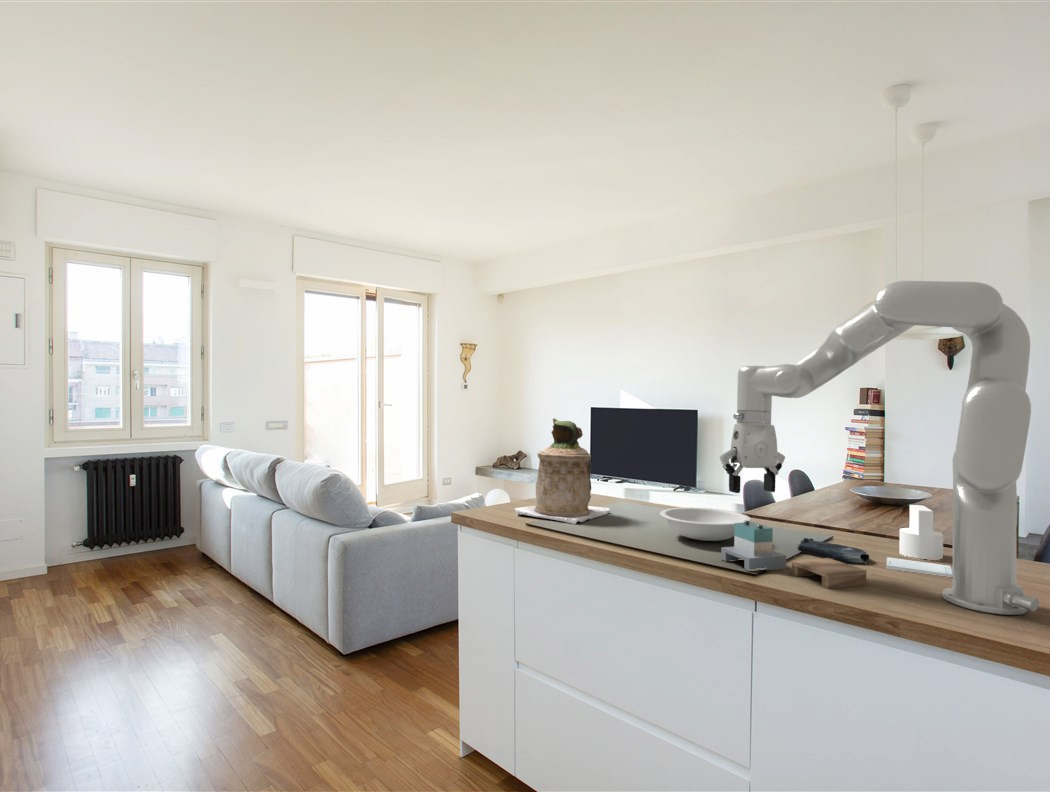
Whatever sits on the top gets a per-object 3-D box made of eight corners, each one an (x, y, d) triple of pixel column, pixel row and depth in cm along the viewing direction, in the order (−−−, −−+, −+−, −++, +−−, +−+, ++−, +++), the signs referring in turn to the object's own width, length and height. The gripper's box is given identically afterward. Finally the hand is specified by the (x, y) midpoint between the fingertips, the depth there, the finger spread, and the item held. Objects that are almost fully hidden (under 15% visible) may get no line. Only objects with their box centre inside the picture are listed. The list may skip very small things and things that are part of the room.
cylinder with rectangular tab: (895, 549, 151) (895, 503, 151) (936, 553, 147) (936, 506, 148) (904, 558, 142) (904, 509, 142) (948, 562, 139) (948, 512, 139)
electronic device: (796, 560, 145) (860, 565, 134) (794, 537, 146) (858, 540, 135) (812, 559, 151) (875, 564, 140) (811, 537, 152) (873, 540, 141)
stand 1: (786, 568, 132) (786, 555, 132) (749, 572, 129) (749, 558, 129) (756, 557, 141) (756, 545, 141) (721, 560, 138) (721, 547, 138)
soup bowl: (741, 531, 170) (741, 509, 170) (759, 552, 146) (760, 526, 146) (657, 527, 174) (657, 505, 174) (662, 547, 150) (662, 521, 150)
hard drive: (886, 564, 133) (953, 573, 126) (886, 556, 140) (950, 564, 133) (886, 571, 133) (953, 580, 126) (886, 563, 140) (950, 571, 133)
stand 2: (866, 584, 121) (866, 570, 121) (827, 588, 118) (828, 573, 118) (828, 571, 130) (828, 557, 130) (791, 574, 127) (791, 560, 127)
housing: (772, 554, 132) (772, 525, 132) (754, 556, 131) (754, 526, 131) (751, 547, 139) (752, 519, 139) (734, 548, 137) (734, 520, 138)
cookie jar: (578, 525, 175) (579, 420, 176) (511, 515, 189) (513, 418, 189) (612, 513, 196) (613, 418, 196) (550, 505, 209) (551, 416, 210)
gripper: (732, 418, 129) (730, 495, 129) (795, 419, 134) (794, 493, 134) (712, 417, 136) (710, 490, 136) (773, 418, 141) (771, 488, 141)
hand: (752, 491), depth 135 cm, fingers open, 9 cm apart
